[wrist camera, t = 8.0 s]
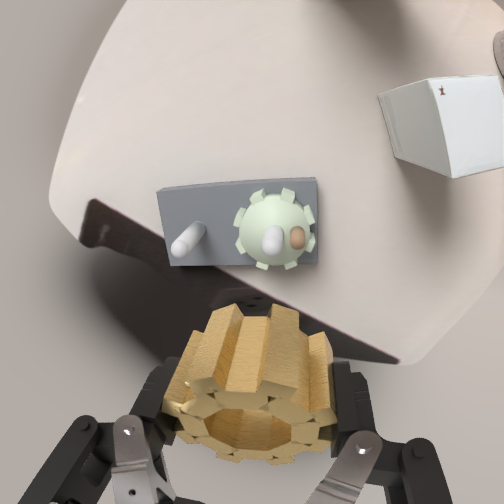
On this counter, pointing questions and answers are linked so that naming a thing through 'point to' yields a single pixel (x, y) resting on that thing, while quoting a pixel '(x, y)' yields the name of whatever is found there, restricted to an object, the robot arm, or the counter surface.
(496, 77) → the supplement box
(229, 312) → the brass gear
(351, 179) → the counter surface
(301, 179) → the gear board
